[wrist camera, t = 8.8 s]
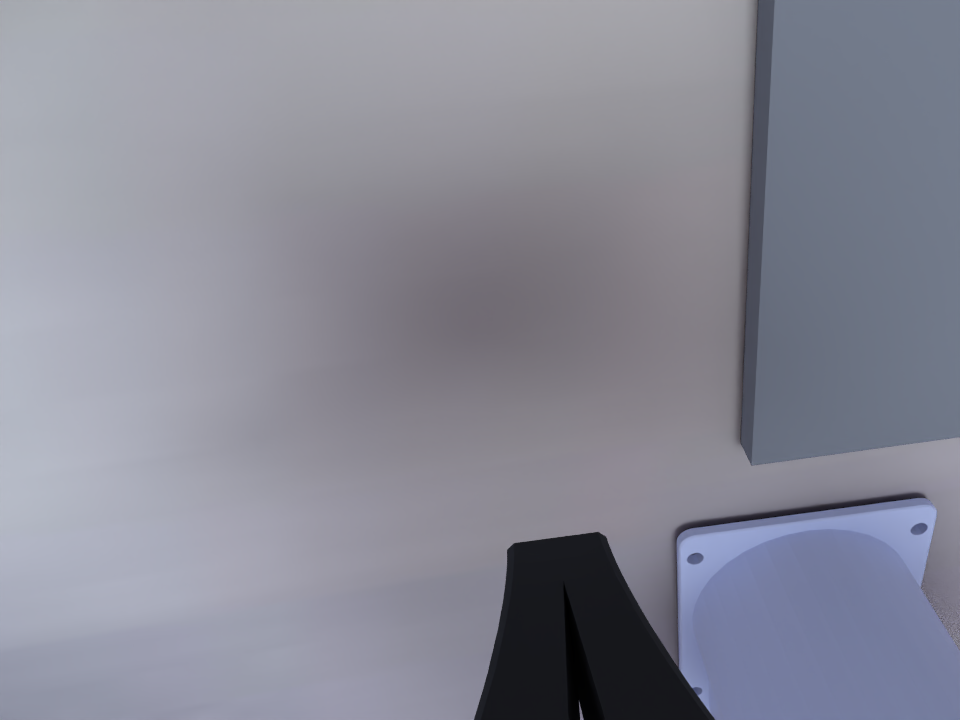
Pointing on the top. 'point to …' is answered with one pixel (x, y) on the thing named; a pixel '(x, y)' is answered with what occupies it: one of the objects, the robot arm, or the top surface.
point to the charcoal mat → (853, 228)
